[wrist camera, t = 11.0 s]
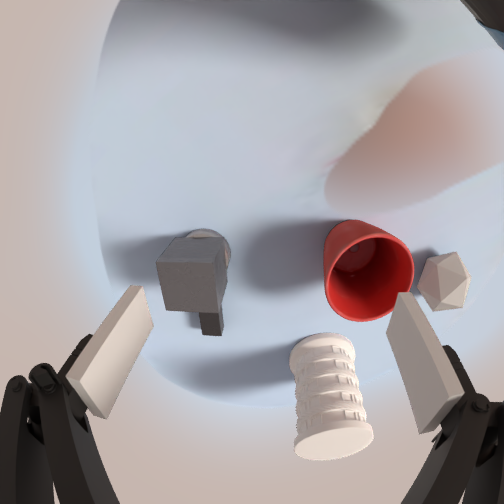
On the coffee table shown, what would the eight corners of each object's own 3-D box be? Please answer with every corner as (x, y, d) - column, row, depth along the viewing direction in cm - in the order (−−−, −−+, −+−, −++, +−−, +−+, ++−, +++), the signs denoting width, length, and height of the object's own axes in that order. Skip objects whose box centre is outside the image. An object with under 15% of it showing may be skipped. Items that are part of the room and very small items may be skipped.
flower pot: (394, 213, 34) (427, 241, 26) (375, 283, 39) (397, 324, 30) (321, 201, 35) (337, 227, 26) (307, 277, 39) (315, 320, 31)
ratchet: (178, 229, 38) (162, 248, 32) (229, 228, 37) (220, 248, 31) (193, 324, 45) (184, 351, 39) (236, 326, 44) (231, 354, 38)
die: (400, 283, 40) (432, 332, 34) (420, 250, 33) (461, 307, 27) (432, 263, 41) (463, 307, 35) (453, 231, 34) (490, 280, 28)
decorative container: (292, 381, 49) (294, 465, 33) (285, 337, 44) (287, 433, 28) (352, 371, 47) (370, 453, 31) (355, 327, 43) (382, 418, 26)
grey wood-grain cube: (175, 237, 36) (155, 261, 29) (224, 237, 35) (213, 262, 29) (182, 280, 38) (166, 310, 32) (227, 281, 38) (218, 313, 31)
